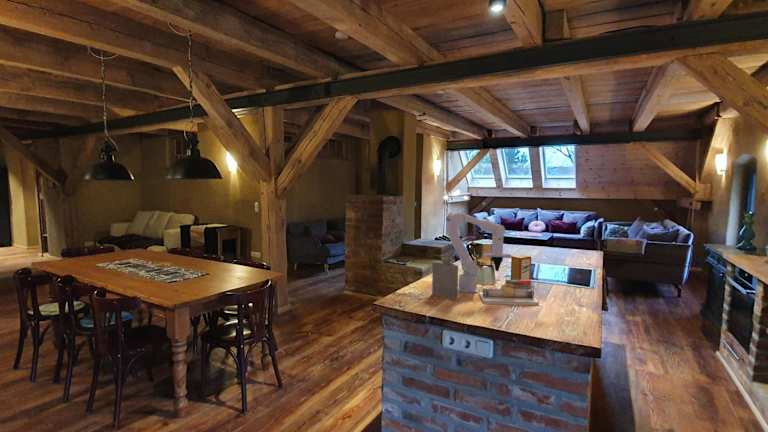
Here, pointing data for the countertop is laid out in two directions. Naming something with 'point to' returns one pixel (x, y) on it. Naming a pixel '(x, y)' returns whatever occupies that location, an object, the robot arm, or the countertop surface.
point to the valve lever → (519, 281)
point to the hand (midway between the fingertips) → (496, 270)
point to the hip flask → (445, 279)
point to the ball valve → (508, 292)
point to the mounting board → (508, 300)
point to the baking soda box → (520, 268)
